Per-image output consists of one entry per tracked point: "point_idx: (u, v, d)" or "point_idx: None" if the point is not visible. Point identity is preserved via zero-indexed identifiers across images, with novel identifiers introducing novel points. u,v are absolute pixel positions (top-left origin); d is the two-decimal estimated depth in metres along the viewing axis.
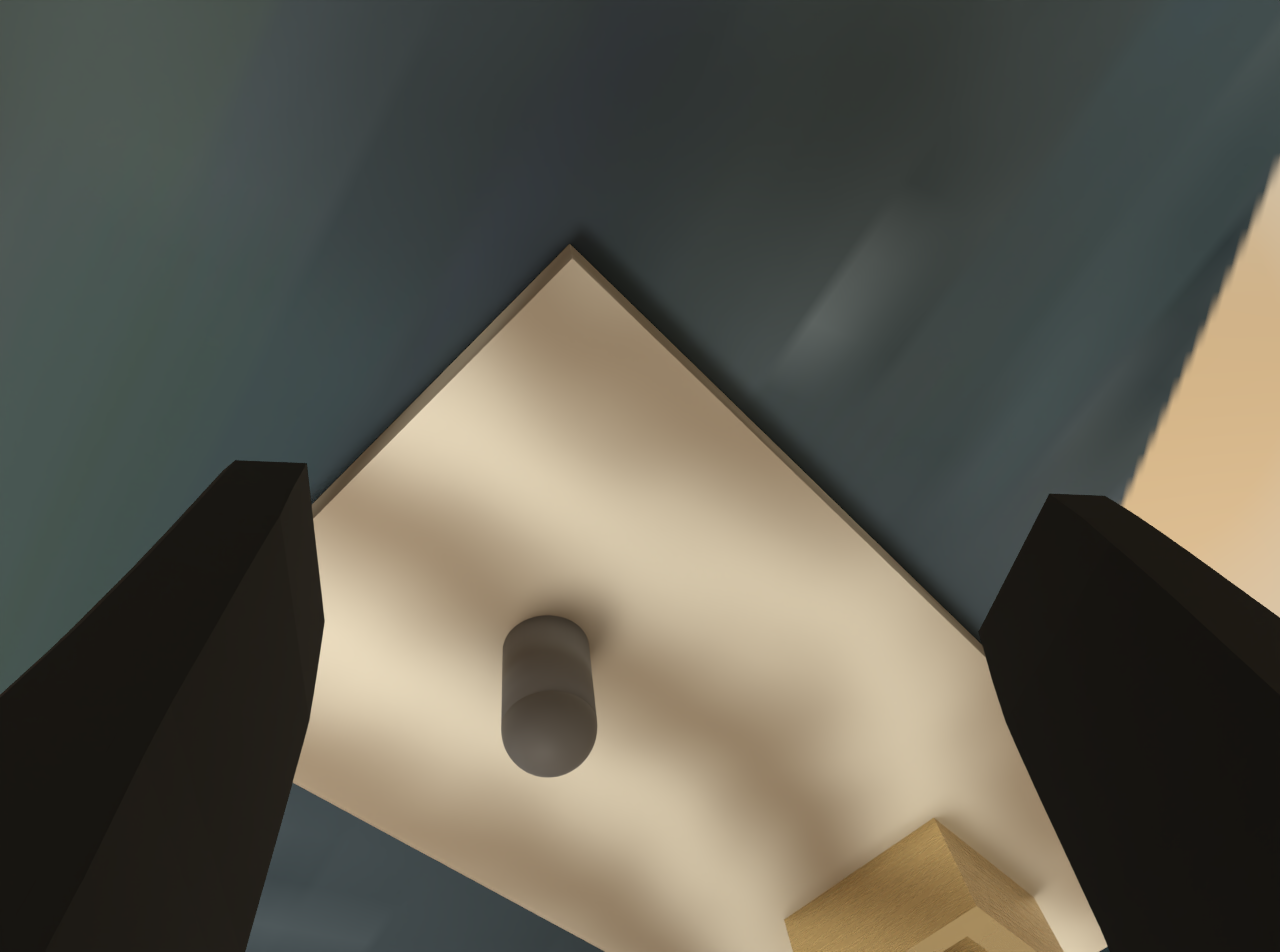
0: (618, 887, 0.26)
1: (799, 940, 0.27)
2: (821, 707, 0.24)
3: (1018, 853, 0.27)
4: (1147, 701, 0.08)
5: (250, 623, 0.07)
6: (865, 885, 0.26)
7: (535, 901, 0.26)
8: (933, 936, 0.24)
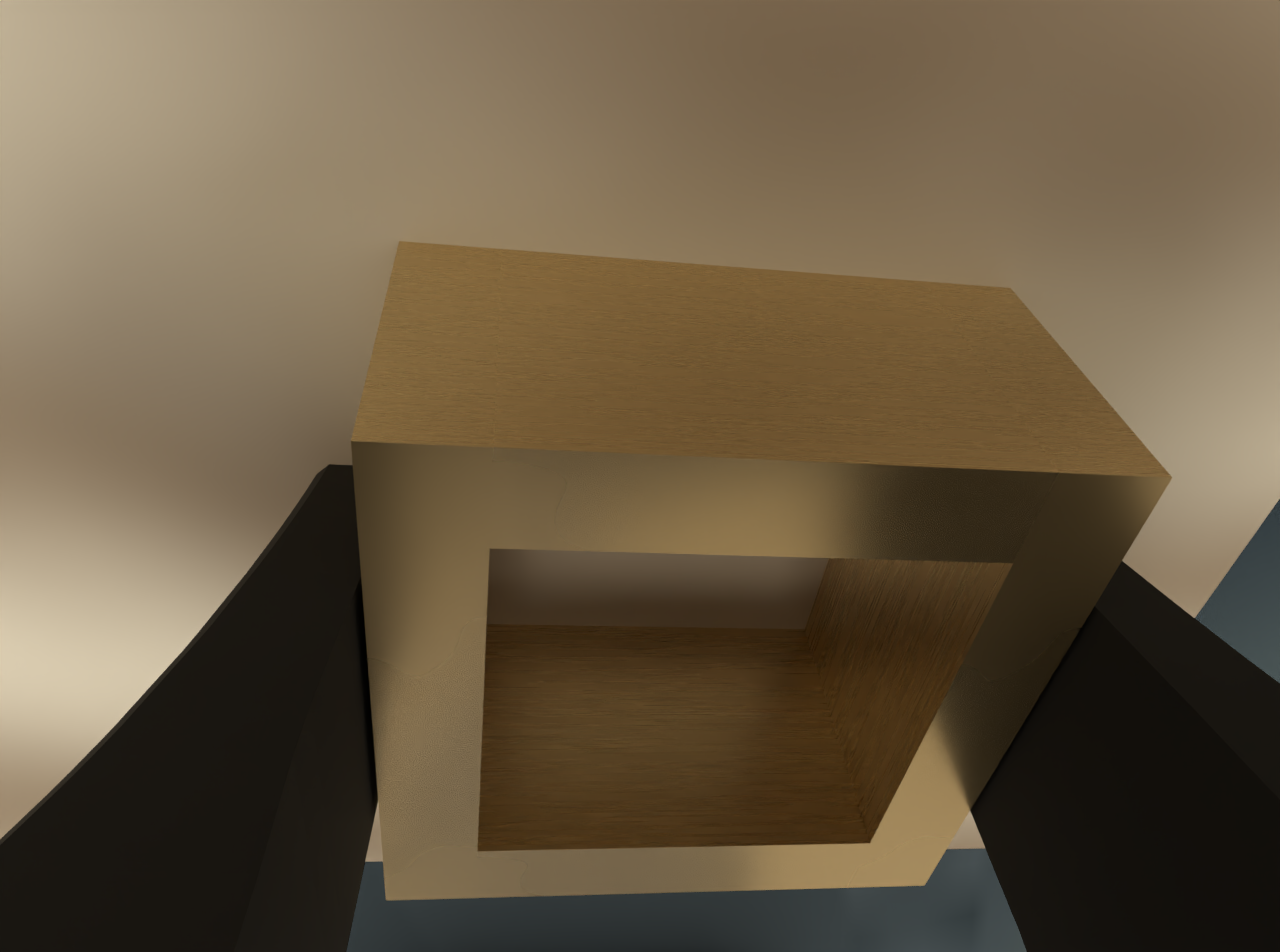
0: (7, 774, 0.12)
1: None
2: None
3: (806, 186, 0.08)
4: (1061, 701, 0.08)
5: (362, 626, 0.07)
6: None
7: None
8: (375, 605, 0.07)
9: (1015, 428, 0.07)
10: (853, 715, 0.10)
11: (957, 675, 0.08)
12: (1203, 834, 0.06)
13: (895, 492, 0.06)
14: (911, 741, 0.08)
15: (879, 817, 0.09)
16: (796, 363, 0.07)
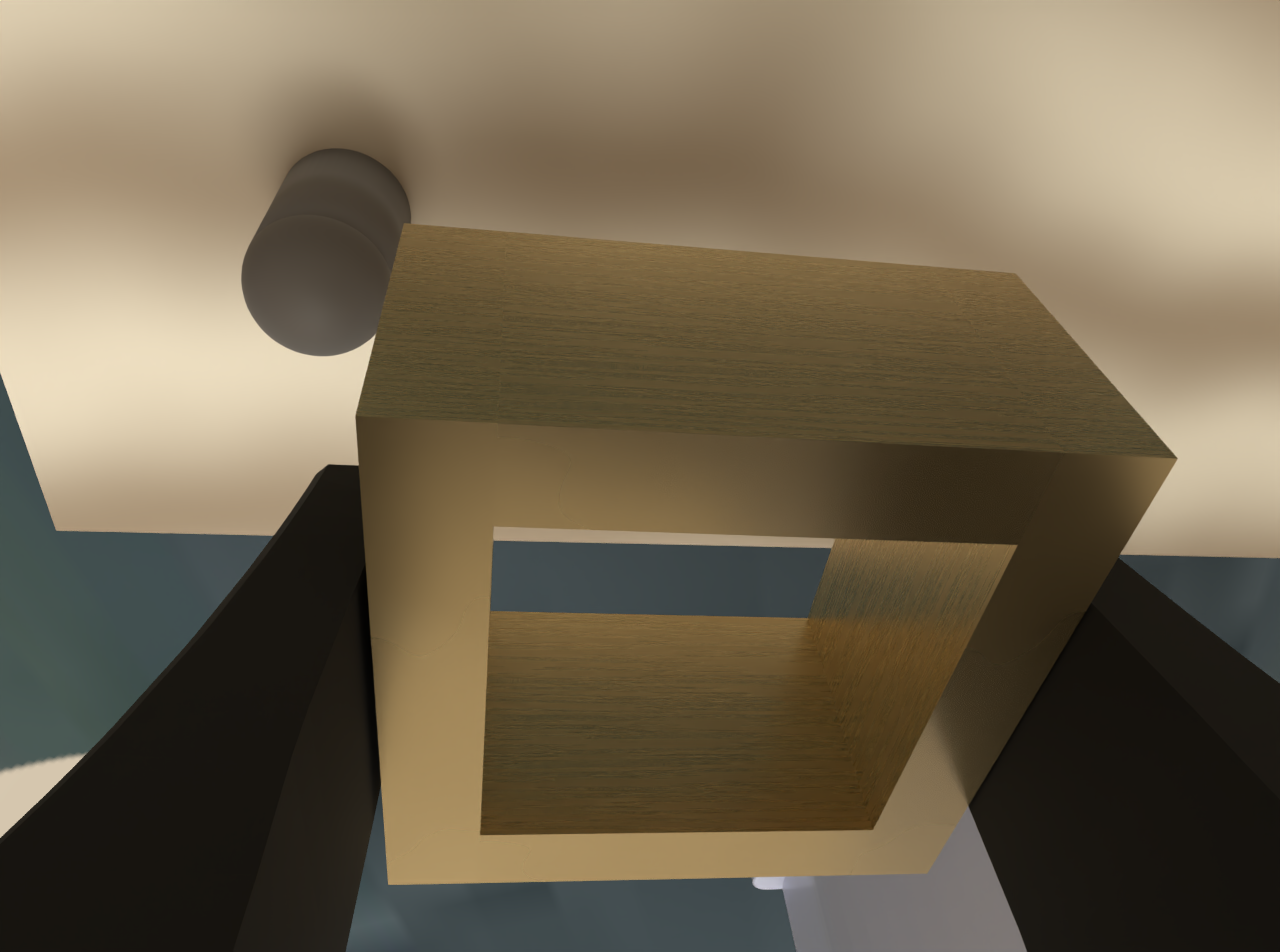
0: None
1: None
2: (782, 37, 0.14)
3: None
4: (1061, 701, 0.08)
5: (361, 624, 0.07)
6: None
7: None
8: (380, 582, 0.07)
9: (1020, 409, 0.07)
10: (856, 702, 0.10)
11: (961, 659, 0.08)
12: (1203, 834, 0.06)
13: (900, 472, 0.06)
14: (915, 727, 0.08)
15: (882, 804, 0.09)
16: (801, 344, 0.07)
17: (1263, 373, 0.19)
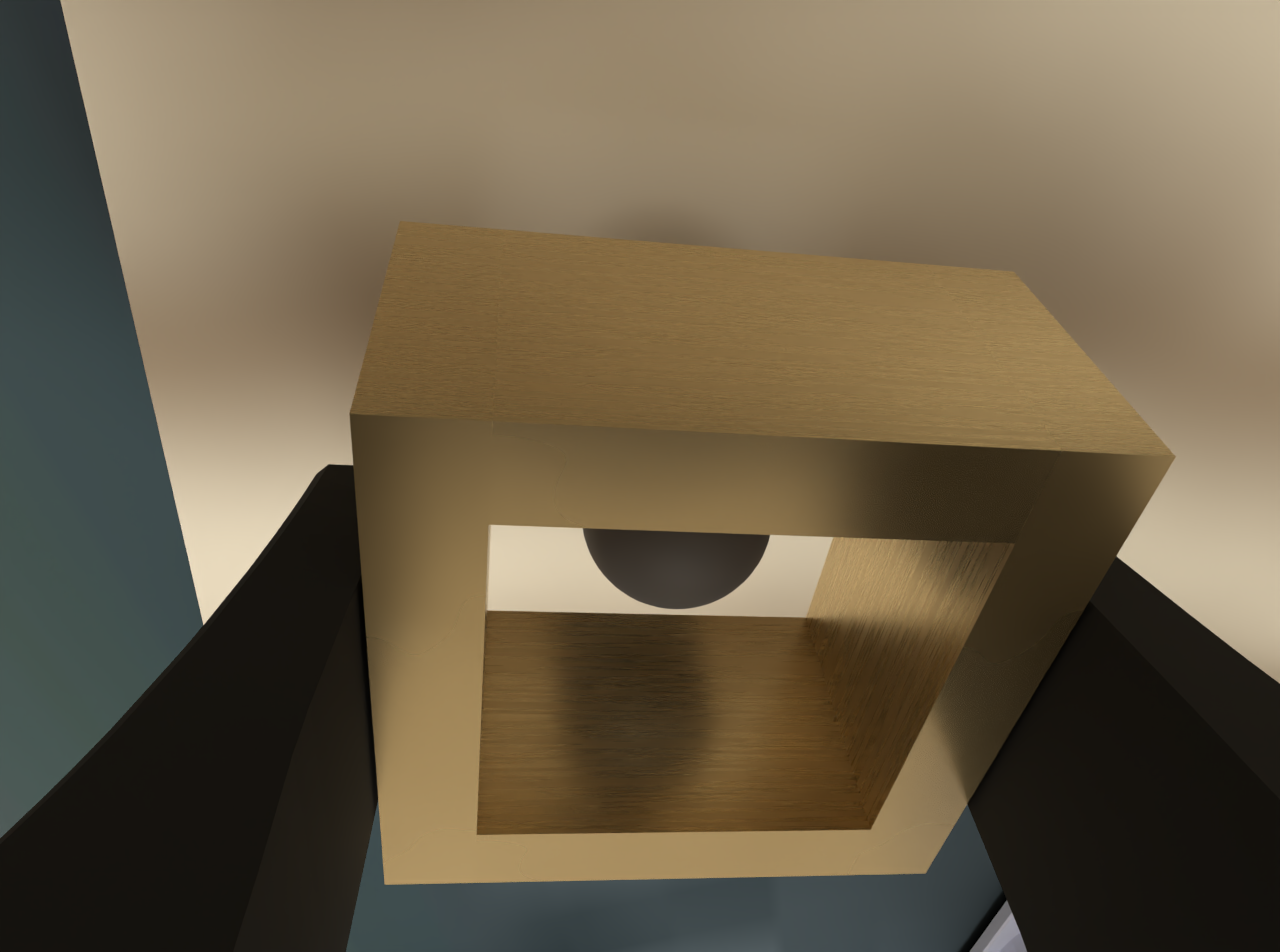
0: None
1: None
2: (1244, 181, 0.11)
3: None
4: (1061, 701, 0.08)
5: (361, 624, 0.07)
6: None
7: None
8: (374, 581, 0.07)
9: (1018, 407, 0.07)
10: (854, 702, 0.10)
11: (958, 658, 0.08)
12: (1203, 834, 0.06)
13: (896, 470, 0.06)
14: (912, 727, 0.08)
15: (880, 803, 0.09)
16: (798, 342, 0.07)
17: None
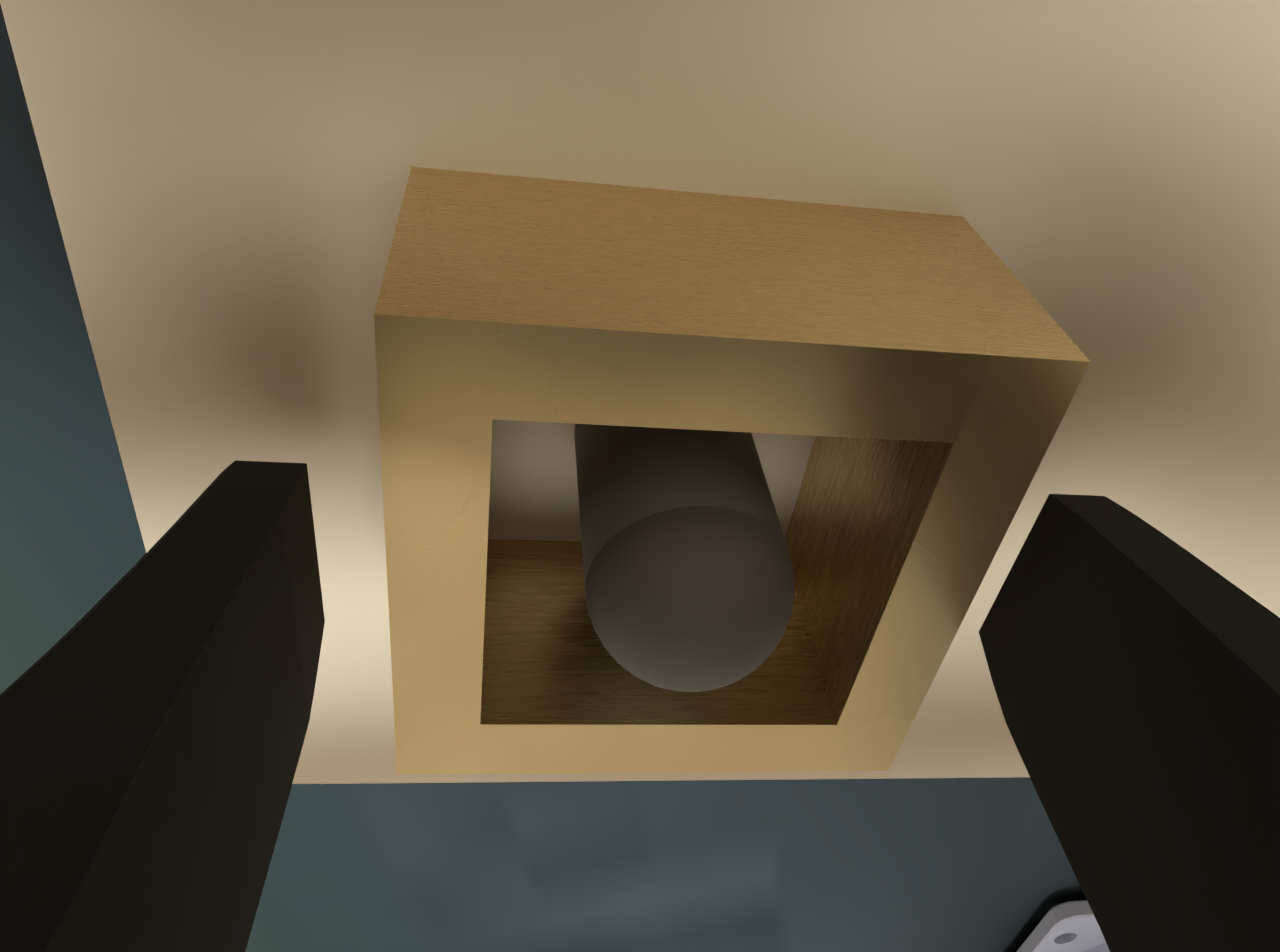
0: None
1: None
2: None
3: None
4: (1148, 701, 0.08)
5: (250, 623, 0.07)
6: None
7: (948, 764, 0.16)
8: (393, 472, 0.07)
9: (955, 322, 0.08)
10: (823, 614, 0.11)
11: (908, 553, 0.09)
12: None
13: (847, 372, 0.07)
14: (871, 623, 0.09)
15: (844, 699, 0.10)
16: (764, 268, 0.08)
17: None
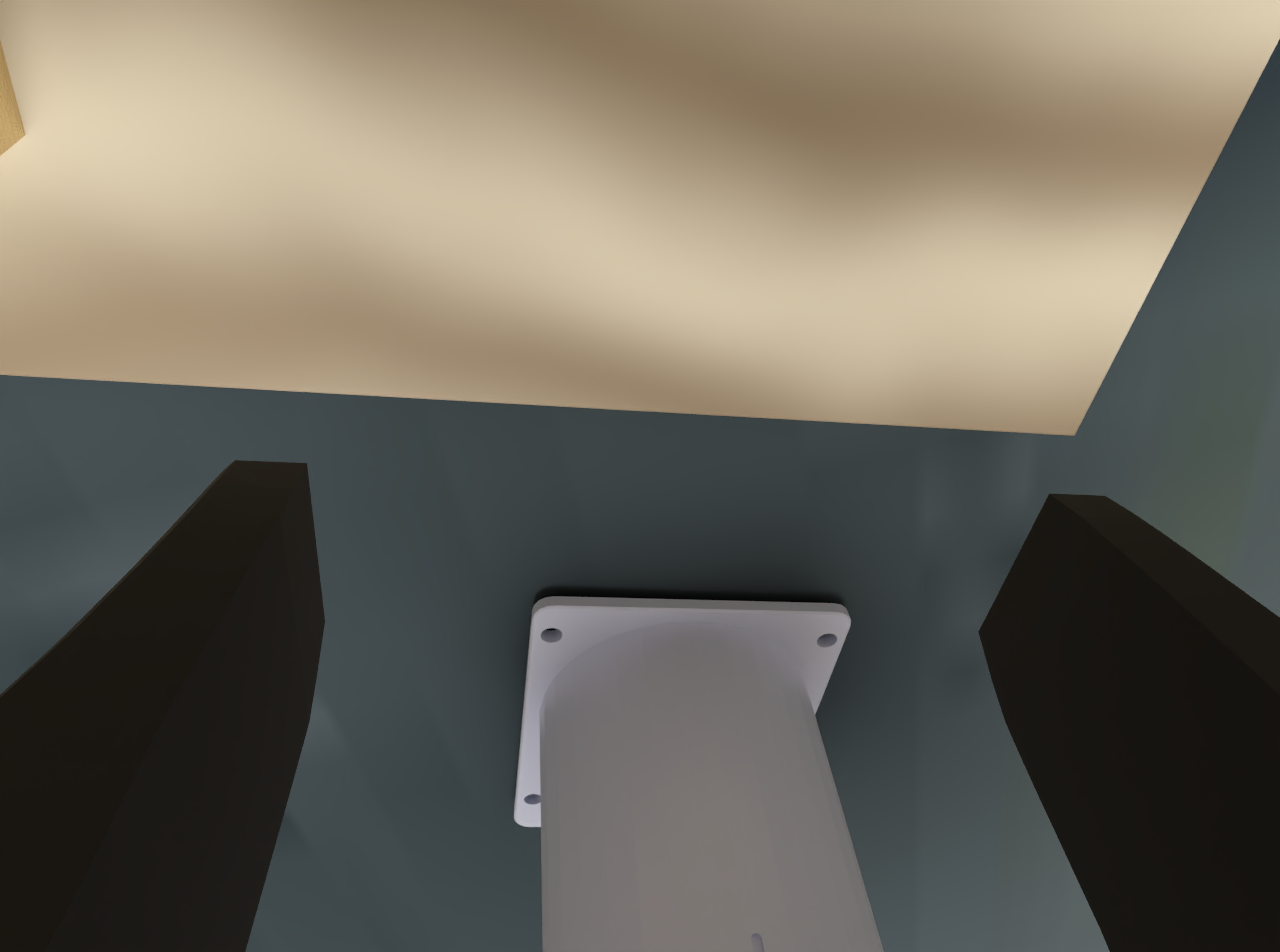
0: (347, 286, 0.16)
1: None
2: None
3: None
4: (1147, 701, 0.08)
5: (251, 623, 0.07)
6: None
7: (274, 372, 0.17)
8: None
9: None
10: None
11: None
12: None
13: None
14: None
15: None
16: None
17: (955, 189, 0.16)
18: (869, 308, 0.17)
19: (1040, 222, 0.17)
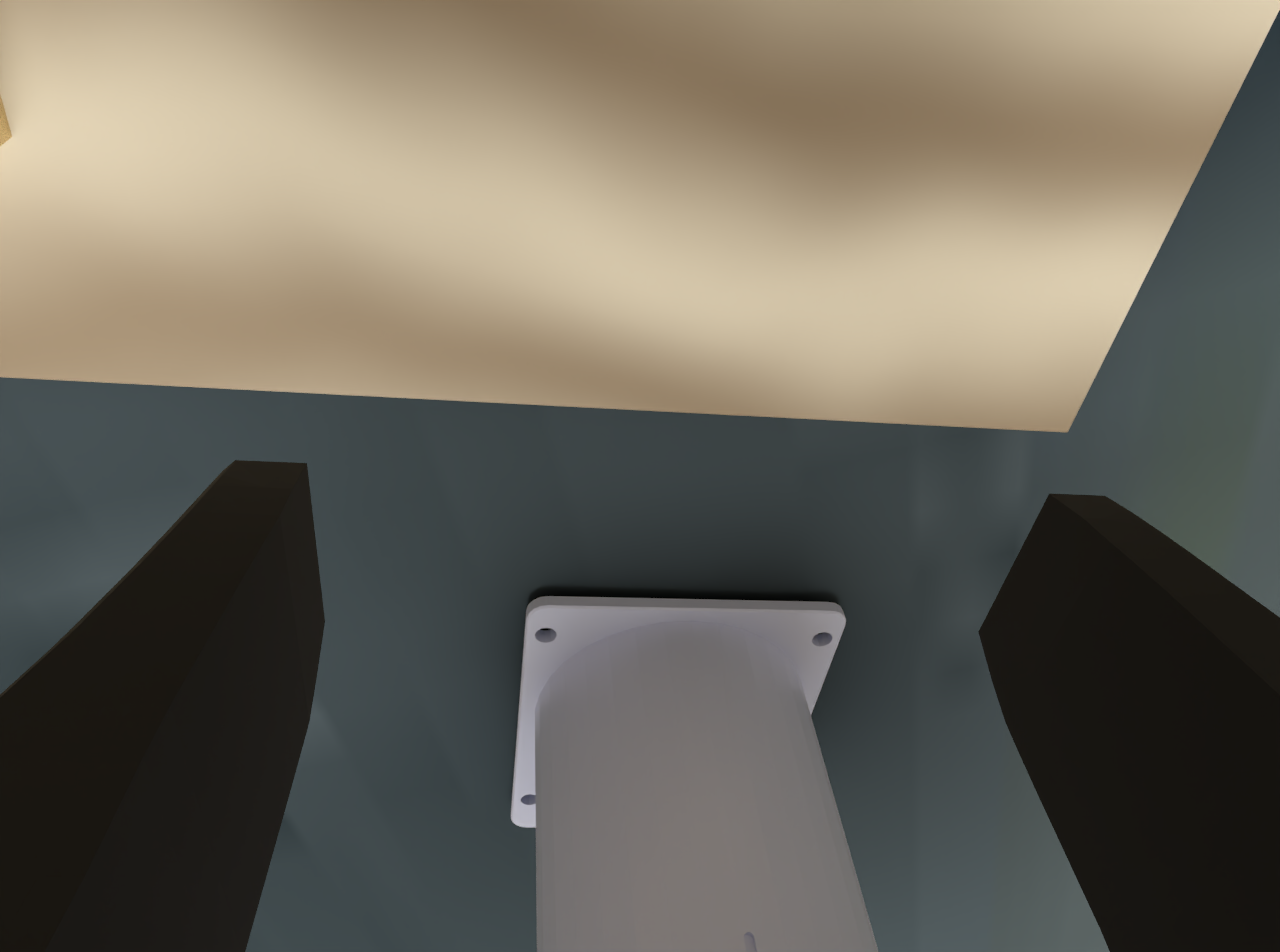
0: (336, 286, 0.16)
1: None
2: None
3: None
4: (1147, 701, 0.08)
5: (251, 623, 0.07)
6: None
7: (264, 373, 0.17)
8: None
9: None
10: None
11: None
12: None
13: None
14: None
15: None
16: None
17: (944, 186, 0.16)
18: (859, 305, 0.17)
19: (1030, 218, 0.17)
